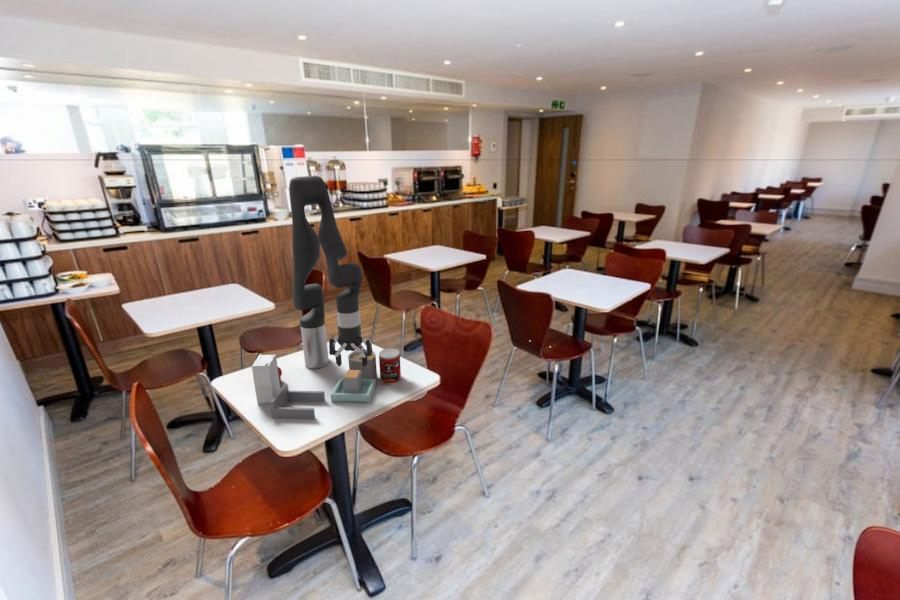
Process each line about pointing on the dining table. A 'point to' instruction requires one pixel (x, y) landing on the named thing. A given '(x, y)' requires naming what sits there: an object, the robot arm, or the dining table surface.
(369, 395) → the tray
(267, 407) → the dining table surface
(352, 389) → the grey block tan panel
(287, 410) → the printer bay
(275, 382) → the skincare box
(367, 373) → the coffee mug
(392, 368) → the canned food
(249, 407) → the dining table surface
